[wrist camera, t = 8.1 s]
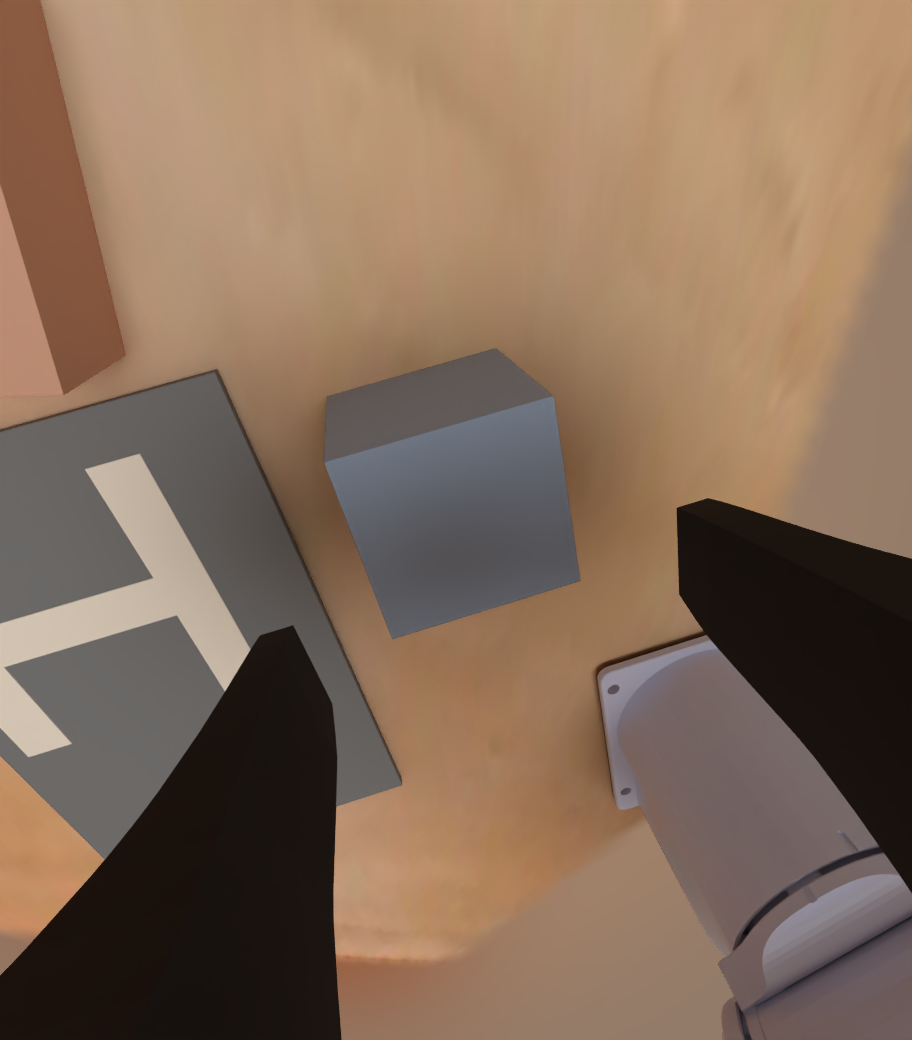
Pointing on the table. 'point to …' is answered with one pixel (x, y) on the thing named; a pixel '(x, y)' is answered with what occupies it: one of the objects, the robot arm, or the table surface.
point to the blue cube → (452, 489)
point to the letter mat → (147, 601)
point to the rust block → (45, 227)
